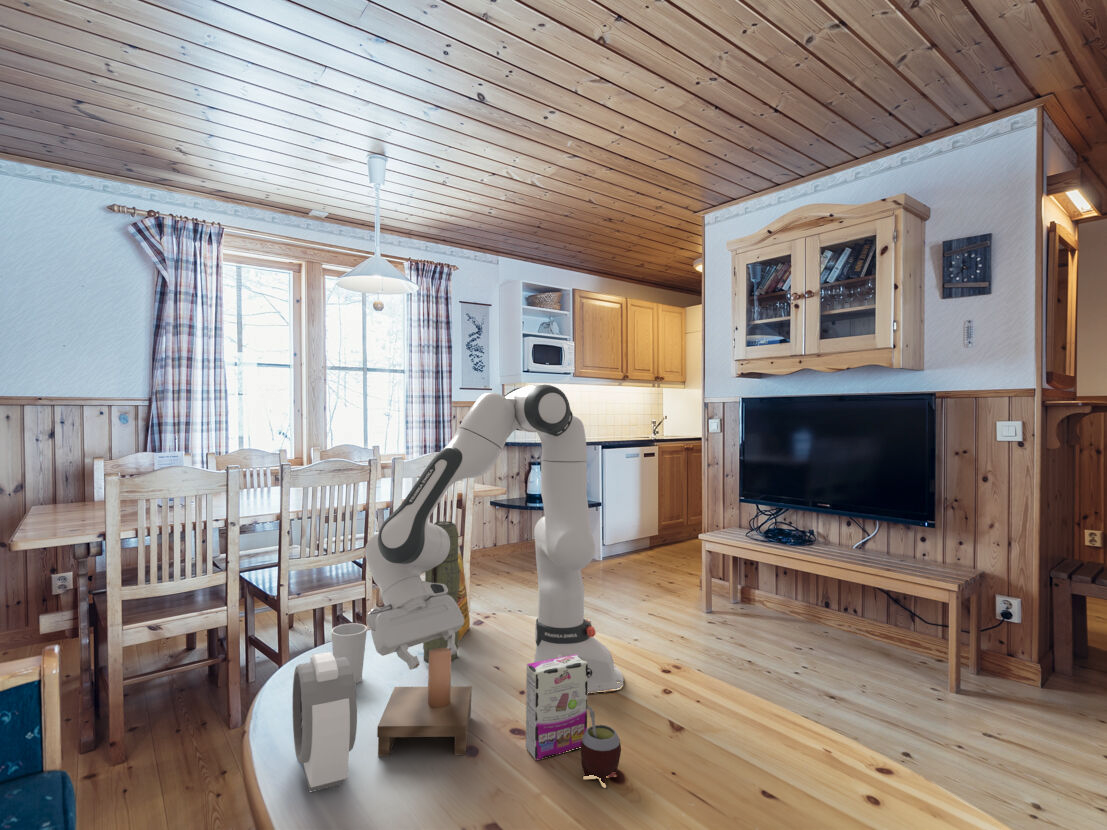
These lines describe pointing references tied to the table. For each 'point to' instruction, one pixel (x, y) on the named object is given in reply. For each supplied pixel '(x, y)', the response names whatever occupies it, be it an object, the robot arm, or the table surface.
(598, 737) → the mate gourd
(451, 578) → the thermos
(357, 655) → the cup
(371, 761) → the table surface
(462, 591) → the pancake mix bag
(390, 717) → the walnut shelf
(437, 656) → the peach cylinder
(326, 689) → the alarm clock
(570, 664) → the candy bar box
